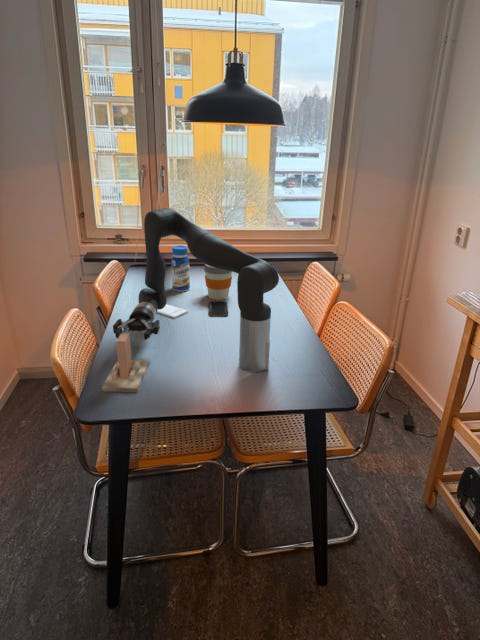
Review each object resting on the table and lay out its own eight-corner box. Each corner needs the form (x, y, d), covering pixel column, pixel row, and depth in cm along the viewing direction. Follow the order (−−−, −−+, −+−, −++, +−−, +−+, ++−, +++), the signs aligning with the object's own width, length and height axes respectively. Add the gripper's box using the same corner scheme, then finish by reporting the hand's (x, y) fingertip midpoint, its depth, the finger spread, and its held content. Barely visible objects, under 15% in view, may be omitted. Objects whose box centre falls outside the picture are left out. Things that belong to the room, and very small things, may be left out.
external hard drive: (166, 307, 181) (188, 314, 174) (152, 312, 174) (174, 320, 168) (166, 303, 180) (188, 310, 173) (152, 309, 174) (174, 316, 167)
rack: (117, 363, 135) (116, 354, 133) (149, 364, 135) (148, 355, 133) (102, 391, 120) (100, 381, 119) (137, 392, 120) (136, 382, 119)
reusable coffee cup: (207, 302, 185) (207, 268, 179) (202, 292, 196) (201, 260, 190) (235, 299, 188) (236, 267, 182) (228, 290, 199) (228, 259, 193)
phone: (208, 314, 170) (209, 301, 184) (208, 317, 171) (209, 303, 184) (228, 314, 171) (227, 301, 184) (228, 317, 171) (227, 303, 185)
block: (124, 369, 129) (120, 333, 124) (132, 369, 129) (129, 333, 124) (120, 377, 125) (116, 341, 120) (128, 378, 125) (125, 341, 120)
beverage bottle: (188, 285, 205) (187, 244, 197) (191, 291, 197) (190, 248, 189) (170, 286, 202) (168, 245, 194) (173, 292, 195) (172, 250, 187)
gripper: (121, 305, 145) (107, 325, 130) (163, 306, 145) (153, 326, 130) (123, 325, 148) (109, 346, 133) (164, 326, 148) (155, 348, 133)
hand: (131, 336), depth 131 cm, fingers open, 8 cm apart
